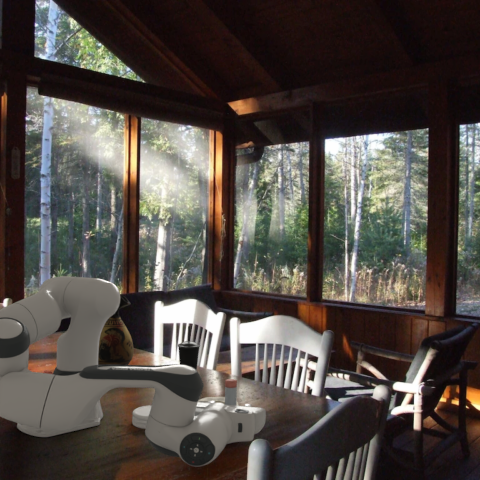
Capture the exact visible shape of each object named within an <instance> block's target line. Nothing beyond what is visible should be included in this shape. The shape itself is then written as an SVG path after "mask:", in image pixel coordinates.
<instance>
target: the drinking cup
mask: <svg viewBox="0 0 480 480" xmlns="http://www.w3.org/2000/svg"><path fill="white" fill-rule="evenodd" d="M200 346H201V345H200V343H197V342H196V341H194V340H191V325H188V326H187V340H185V341H182V342H180V343H178V344H177V348H178V359H179V361H178V362H179V364H181V365H187V366H190V367H193V368H195V369H196V370H197V371H198V369H197V368H198V362H199V352H200Z"/></svg>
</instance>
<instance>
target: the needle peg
mask: <svg viewBox="0 0 480 480" xmlns="http://www.w3.org/2000/svg"><path fill="white" fill-rule="evenodd" d="M224 384H225V385H224V397H225V404H226V405H236V401H237V402H238V400H237V398H238V397H237V396H238V395H237V393H238V391H237V390H238V386H237V385H238V380H237V379H235V378H228V379H227V378H226V379H225V383H224Z"/></svg>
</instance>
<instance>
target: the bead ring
mask: <svg viewBox="0 0 480 480" xmlns="http://www.w3.org/2000/svg"><path fill="white" fill-rule="evenodd" d="M209 401H215V403H223V404H225V396H205V397H203V398H199V401H198V402H204V403H206V402H209ZM236 405H237V406H240V405H239V402H238V400H237V401H236Z"/></svg>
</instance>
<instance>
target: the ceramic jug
mask: <svg viewBox="0 0 480 480" xmlns="http://www.w3.org/2000/svg"><path fill="white" fill-rule="evenodd" d="M127 306H131V302H130V301H129V300H128V298H127V297H126V296H125V295H122V296H121V295H120V304H119V307H118V309H117V311H116V312H115V313H114V314H113V315H112V316H111V317H110V318H109V319H108V320H107V321H106V323H105V325H104V327H103V329H102V332H101V335H100V340H99V353H98V365H130V363H131V361H132V359H133V356H134V344H133V339H132V336H131V334H130V331H129V330H128V328H127V326H126V325H125V323H124V321H123V320H122V318H121V316H120V310H121V309H122V308H125V307H127Z"/></svg>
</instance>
